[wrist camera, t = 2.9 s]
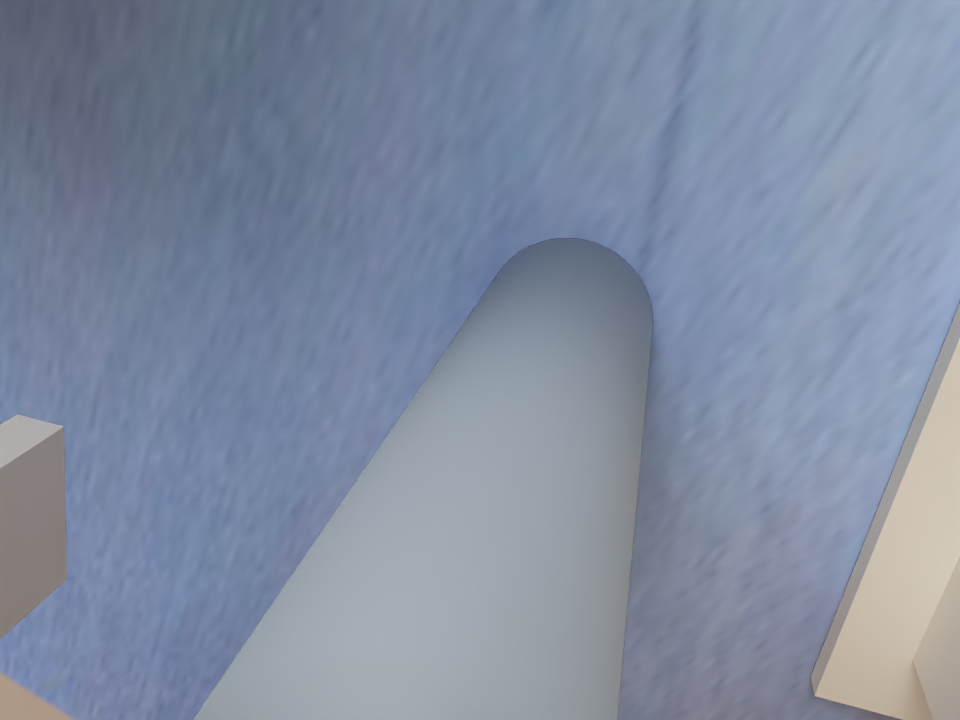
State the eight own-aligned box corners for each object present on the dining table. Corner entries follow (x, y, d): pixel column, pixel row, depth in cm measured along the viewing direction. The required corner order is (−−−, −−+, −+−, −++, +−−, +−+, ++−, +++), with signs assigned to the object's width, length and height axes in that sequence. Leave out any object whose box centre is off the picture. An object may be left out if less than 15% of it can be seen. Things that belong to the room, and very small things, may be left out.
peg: (473, 376, 25) (171, 914, 10) (500, 221, 23) (183, 603, 8) (631, 413, 24) (554, 1040, 10) (671, 258, 22) (652, 734, 8)
